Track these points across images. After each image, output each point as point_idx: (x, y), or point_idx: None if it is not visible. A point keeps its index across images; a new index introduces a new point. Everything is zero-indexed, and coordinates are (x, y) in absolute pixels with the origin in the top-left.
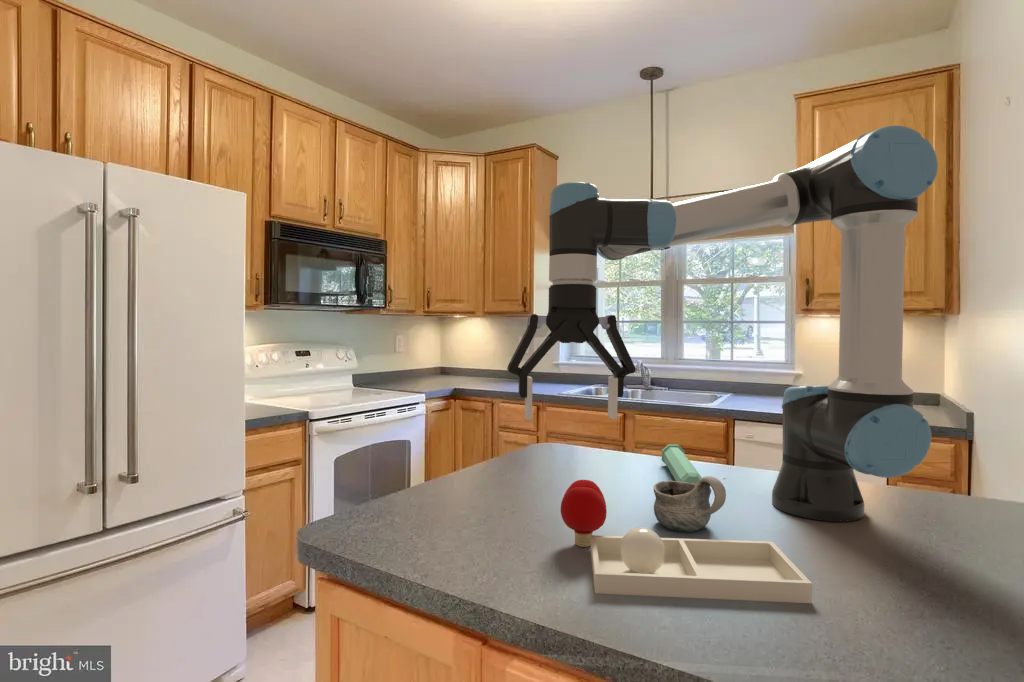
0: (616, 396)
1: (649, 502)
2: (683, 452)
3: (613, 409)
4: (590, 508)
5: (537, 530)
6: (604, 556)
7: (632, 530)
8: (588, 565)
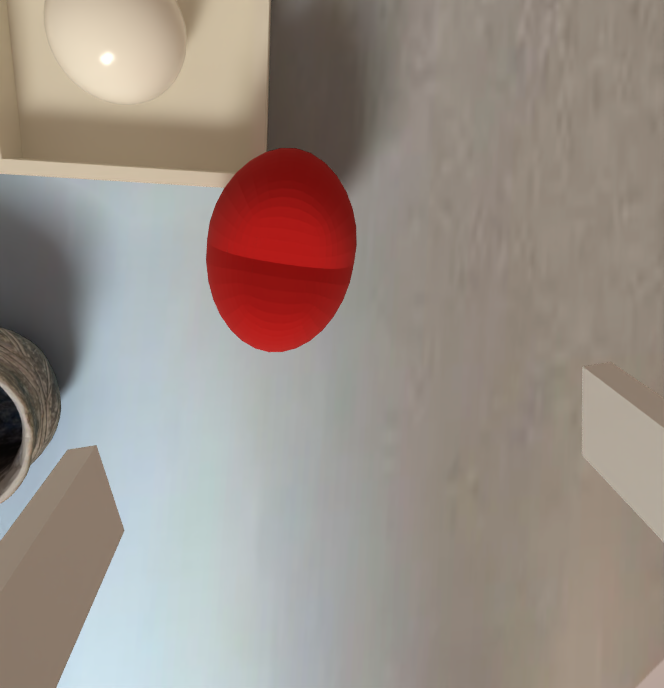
0: (9, 537)
1: None
2: None
3: (70, 477)
4: (264, 154)
5: (397, 349)
6: (230, 150)
7: (133, 25)
8: (276, 119)
